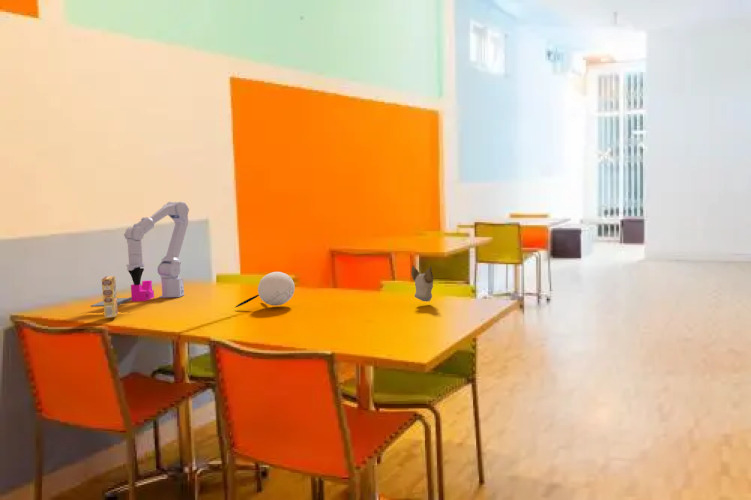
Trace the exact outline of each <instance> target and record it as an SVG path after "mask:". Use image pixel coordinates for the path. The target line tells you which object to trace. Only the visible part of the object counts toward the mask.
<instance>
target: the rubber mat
mask: <svg viewBox="0 0 751 500" xmlns="http://www.w3.org/2000/svg"><path fill="white" fill-rule="evenodd" d="M130 301H132V296H130V297H117V306H118V307H119V306H120V305H123V304H126V302H127V303H128V302H130ZM90 307H104V301H103V300H102V301H99V302H97V303H94V304H91V305H90Z"/></svg>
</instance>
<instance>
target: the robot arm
mask: <svg viewBox="0 0 751 500" xmlns="http://www.w3.org/2000/svg"><path fill="white" fill-rule="evenodd" d="M189 211H190V208H189V206H188V205H187V203H186V202H185V201H173V202H172V201H168V202H167V203H165V204H164V205H163V206H162V207H161V208H159V209H158V210H157V211H155V212H154V214H152V215H151V216H150V217H147V216H146V217H142V218H141V219H140V221H138V222H137V223H134V224H132V225H133V226H132V227H131V226H130V227H128V228H126V230H125V231H124V232H125V233H124V234H123V236H124V238H125V240H126V243H127V254H128V257H127V258H128V264H126V267H127V272H128V273H129V274H130V276H131V279H132V282H133V283H132V284H134V285H140V284H141V282H142V281H141V280H142V276H143V272H144V271H145V269H144V268H145V262H143V250H142V239H144V236H145V234H147V233H148V232H150V231H151V230H152V229H154V228H155V224H156V223H157V222H159V221H161V220H162V219H164V218H166V217H167V216H168V217H169V218H171V220H172V221H173V222H174V224H175V225H174V226H173V227H174V228H173V231H172V234H171V238H170V242H169V244H168V248H167V252H166V255H165V256H164V257H163V258H161V262H160V263H159V264H158V266H157V273H158V275H159V276H160V280H161V281H160V282H161V293H162V294H161V295H160V296H159V297H158V298H181V297H182V296H184V295H185V285H184V279H183V277H179V275H180V273H181V263H182V262H181V261H180V259H179V256H180V253H181V251H182V250H181V249H182V247H183V246H182V245H183V242H184V238H185V235H186V232H187V228H188V226H189V225H188V224H189V216H188V215H189Z"/></svg>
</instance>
